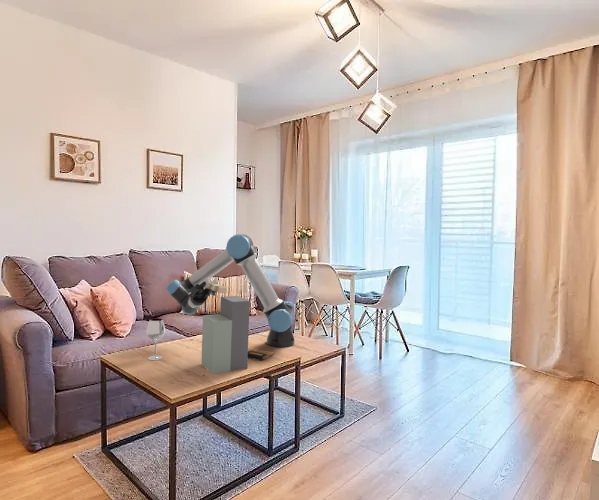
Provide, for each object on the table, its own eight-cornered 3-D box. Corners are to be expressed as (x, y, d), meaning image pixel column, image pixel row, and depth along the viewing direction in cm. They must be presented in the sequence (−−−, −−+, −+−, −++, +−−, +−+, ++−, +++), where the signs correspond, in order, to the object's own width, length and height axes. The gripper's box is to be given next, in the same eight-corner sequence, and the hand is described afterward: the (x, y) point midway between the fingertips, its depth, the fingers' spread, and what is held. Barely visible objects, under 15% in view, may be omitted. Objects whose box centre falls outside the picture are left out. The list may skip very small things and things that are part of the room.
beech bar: (202, 286, 188) (202, 280, 188) (208, 285, 190) (208, 280, 190) (219, 293, 170) (220, 287, 169) (226, 292, 171) (226, 287, 171)
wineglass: (157, 354, 192) (158, 316, 191) (168, 358, 187) (169, 319, 186) (142, 358, 185) (143, 319, 184) (152, 362, 180) (153, 322, 179)
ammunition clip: (243, 352, 194) (258, 347, 204) (243, 356, 194) (257, 351, 204) (262, 356, 188) (275, 351, 199) (261, 360, 188) (275, 355, 199)
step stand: (201, 364, 181) (203, 297, 179) (234, 359, 189) (236, 295, 188) (212, 373, 169) (214, 302, 168) (247, 368, 177) (249, 300, 176)
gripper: (214, 304, 201) (231, 287, 184) (182, 306, 193) (196, 288, 175) (212, 290, 204) (228, 272, 187) (180, 292, 196) (194, 272, 178)
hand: (212, 280), depth 181 cm, fingers closed on beech bar, 3 cm apart
